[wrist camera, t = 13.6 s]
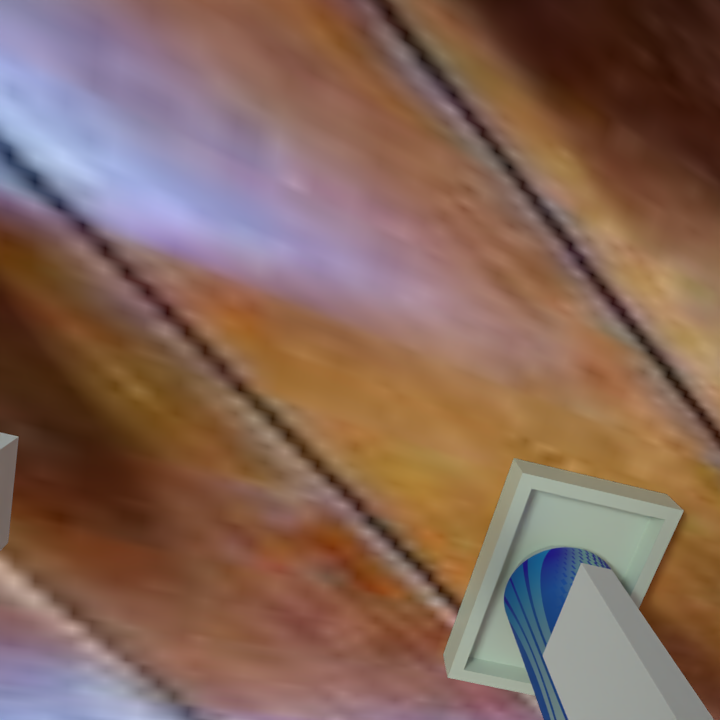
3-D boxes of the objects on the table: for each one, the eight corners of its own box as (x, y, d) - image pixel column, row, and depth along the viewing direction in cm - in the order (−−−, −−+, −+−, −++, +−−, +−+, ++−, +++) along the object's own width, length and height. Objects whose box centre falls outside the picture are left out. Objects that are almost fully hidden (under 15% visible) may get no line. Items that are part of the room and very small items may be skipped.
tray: (513, 458, 42) (522, 472, 40) (666, 494, 43) (683, 510, 40) (443, 654, 47) (447, 677, 44) (582, 683, 47) (593, 707, 45)
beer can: (629, 558, 43) (780, 757, 28) (577, 643, 45) (690, 872, 30) (529, 521, 42) (628, 706, 27) (481, 610, 44) (546, 829, 29)
